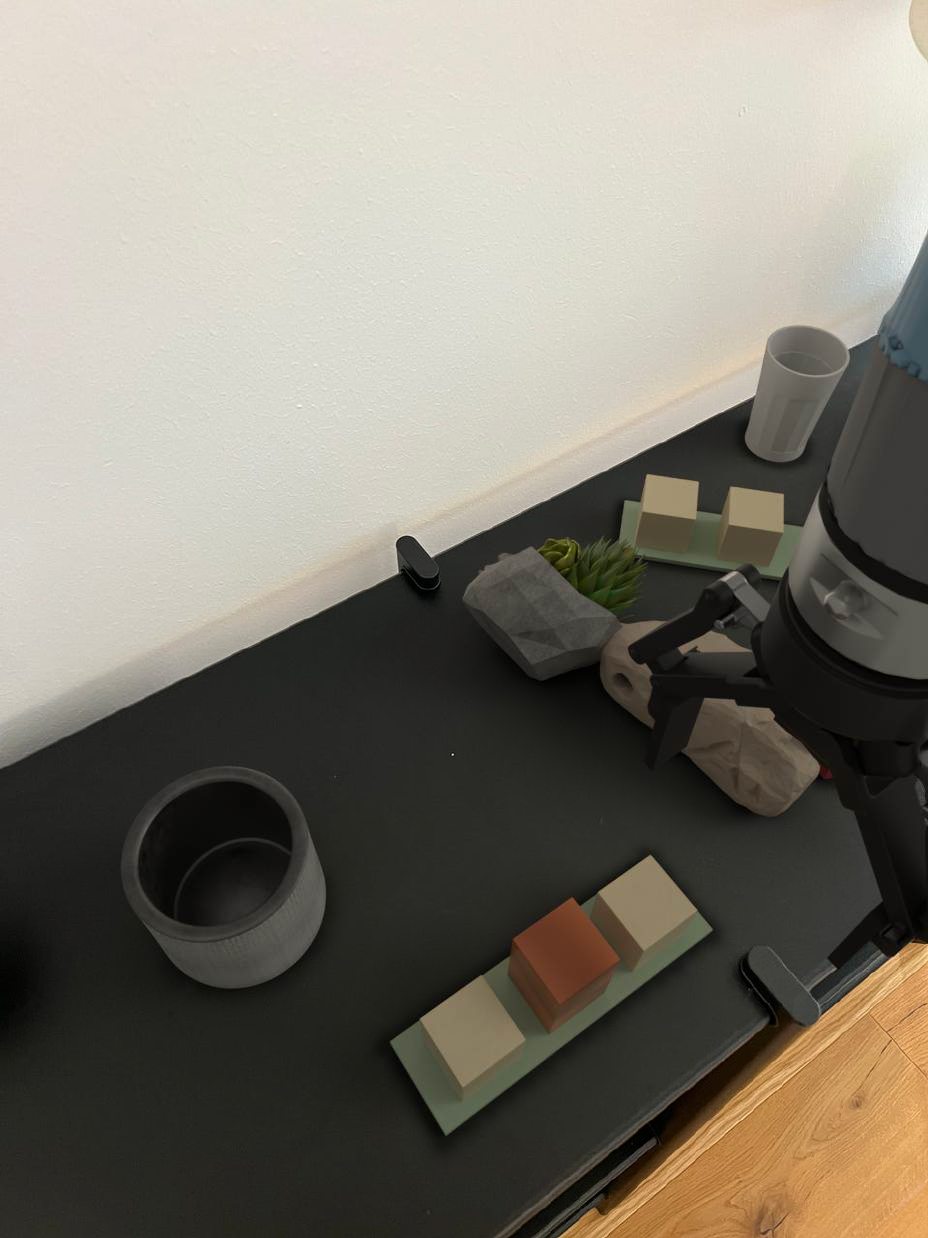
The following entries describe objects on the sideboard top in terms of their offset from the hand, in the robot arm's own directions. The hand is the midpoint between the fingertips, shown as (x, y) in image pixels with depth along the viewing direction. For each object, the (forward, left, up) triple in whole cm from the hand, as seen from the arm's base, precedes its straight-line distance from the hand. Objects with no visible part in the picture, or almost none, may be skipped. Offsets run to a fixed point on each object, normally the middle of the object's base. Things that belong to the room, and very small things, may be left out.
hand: (751, 845), depth 51 cm
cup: (-7, -58, -23) cm, 63 cm away
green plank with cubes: (+8, +3, -23) cm, 24 cm away
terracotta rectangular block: (+8, +3, -22) cm, 24 cm away
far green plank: (-4, -42, -23) cm, 48 cm away
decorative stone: (0, -20, -23) cm, 31 cm away
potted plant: (+13, -28, -23) cm, 38 cm away
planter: (+32, +2, -23) cm, 40 cm away
